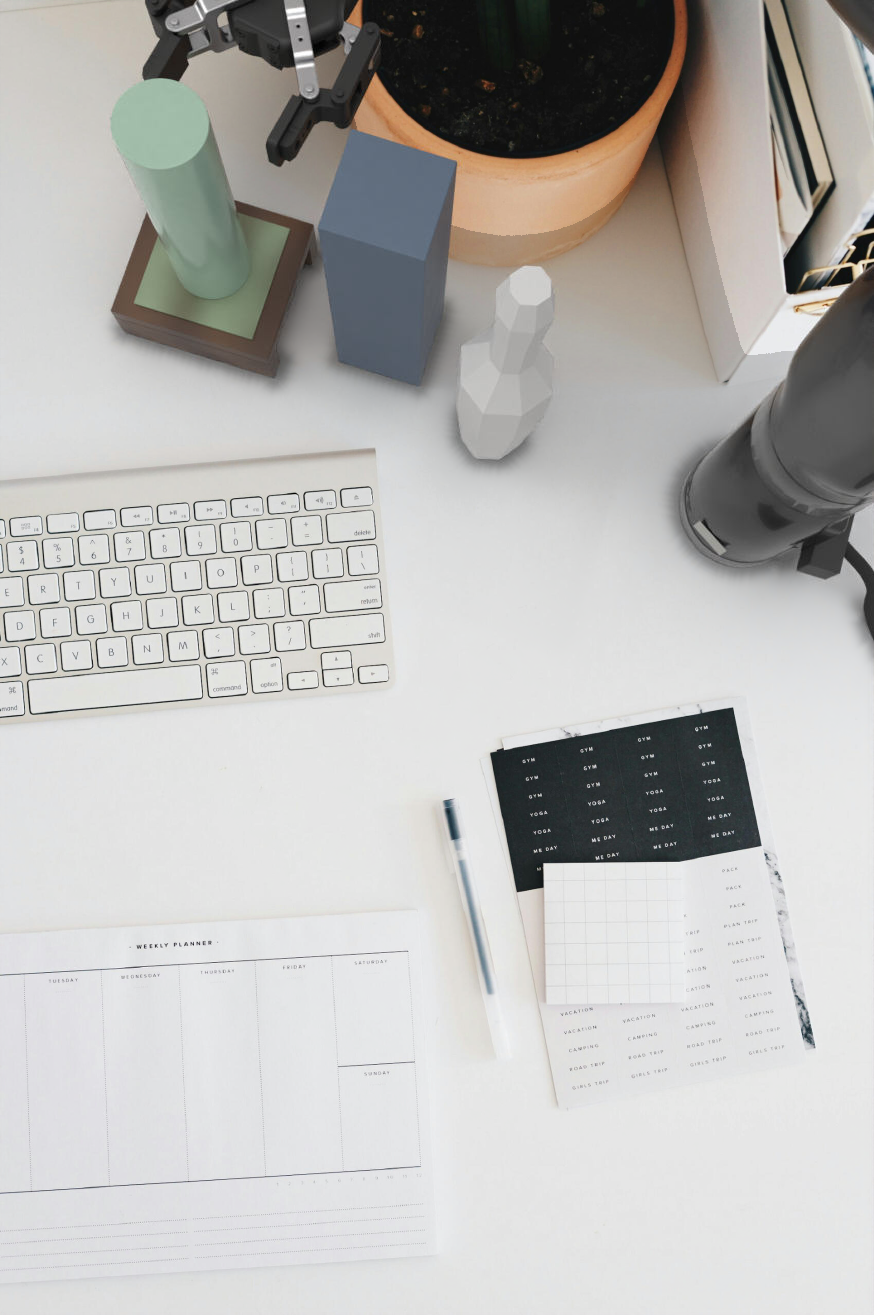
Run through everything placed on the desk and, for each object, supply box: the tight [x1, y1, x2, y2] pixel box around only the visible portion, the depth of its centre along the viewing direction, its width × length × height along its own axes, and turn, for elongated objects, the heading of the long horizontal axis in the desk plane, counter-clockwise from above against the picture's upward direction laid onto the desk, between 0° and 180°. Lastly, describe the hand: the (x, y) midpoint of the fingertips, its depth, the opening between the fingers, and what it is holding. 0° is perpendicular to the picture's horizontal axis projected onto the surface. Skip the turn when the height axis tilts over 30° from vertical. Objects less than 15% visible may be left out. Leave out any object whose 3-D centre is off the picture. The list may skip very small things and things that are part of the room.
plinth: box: [317, 128, 458, 387], centre depth 62 cm, size 6×6×18 cm
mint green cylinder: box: [110, 78, 251, 299], centre depth 60 cm, size 6×6×15 cm
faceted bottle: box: [455, 265, 556, 461], centre depth 60 cm, size 6×6×22 cm
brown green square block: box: [110, 199, 319, 379], centre depth 69 cm, size 12×11×4 cm
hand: (212, 126), depth 58 cm, fingers open, 8 cm apart
